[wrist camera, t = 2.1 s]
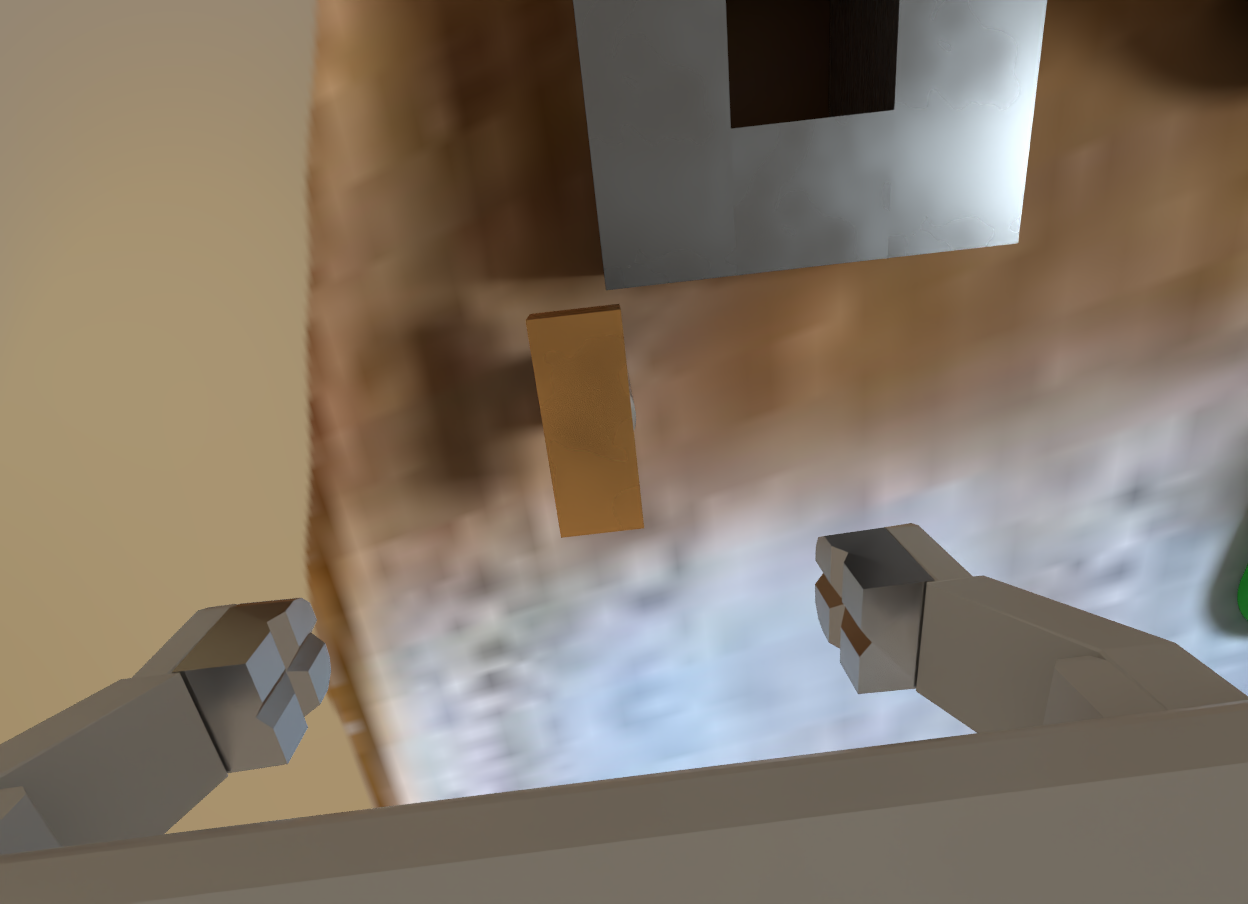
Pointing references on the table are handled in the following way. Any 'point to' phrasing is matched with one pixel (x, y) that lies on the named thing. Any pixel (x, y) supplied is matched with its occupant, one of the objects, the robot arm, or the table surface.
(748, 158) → the block
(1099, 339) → the table surface
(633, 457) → the brown wooden block
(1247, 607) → the mechanical part
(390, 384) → the table surface
